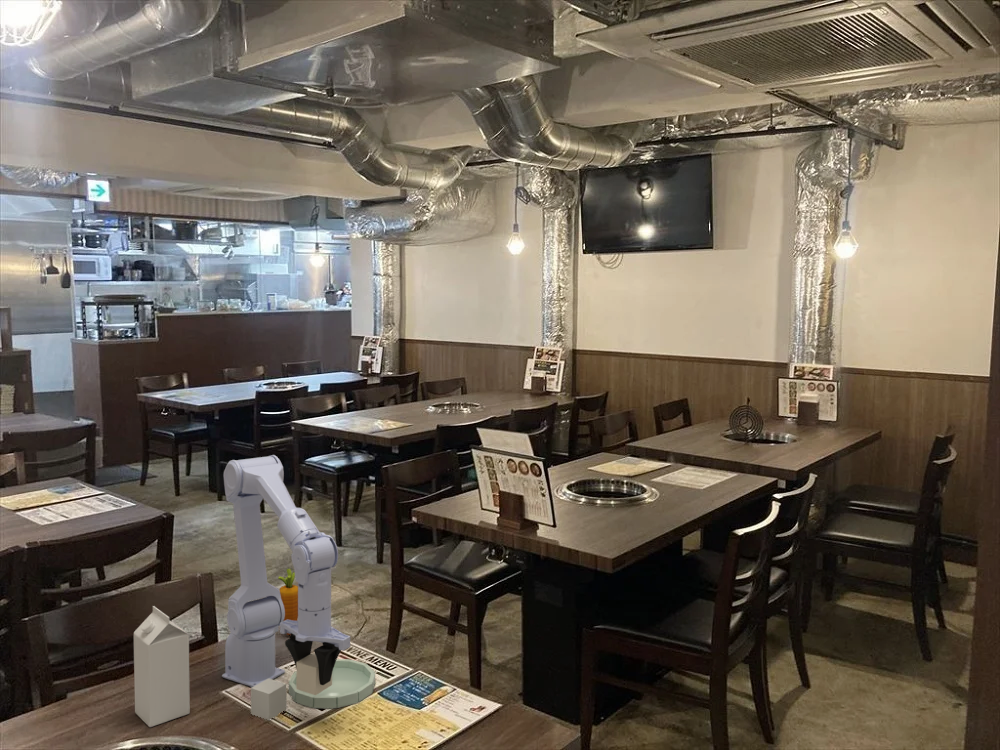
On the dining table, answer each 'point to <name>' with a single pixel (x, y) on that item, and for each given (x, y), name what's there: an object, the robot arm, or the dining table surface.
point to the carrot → (289, 597)
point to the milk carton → (161, 670)
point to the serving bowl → (339, 686)
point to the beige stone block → (309, 675)
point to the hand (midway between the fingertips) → (314, 679)
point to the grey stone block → (268, 699)
